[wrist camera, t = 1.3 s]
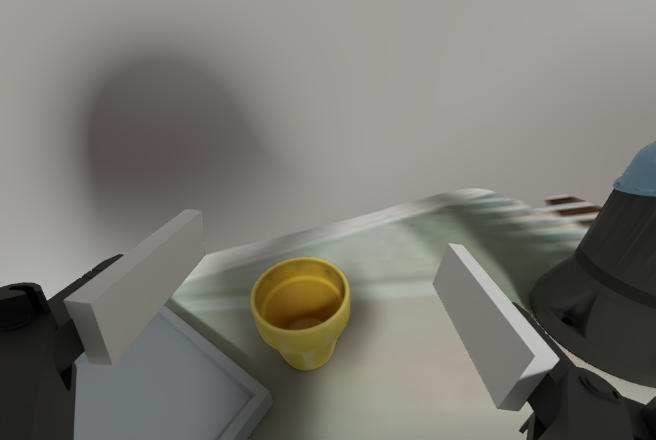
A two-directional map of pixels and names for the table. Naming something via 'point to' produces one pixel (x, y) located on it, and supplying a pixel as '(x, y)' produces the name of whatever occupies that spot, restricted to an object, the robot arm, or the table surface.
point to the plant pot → (301, 309)
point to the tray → (168, 390)
